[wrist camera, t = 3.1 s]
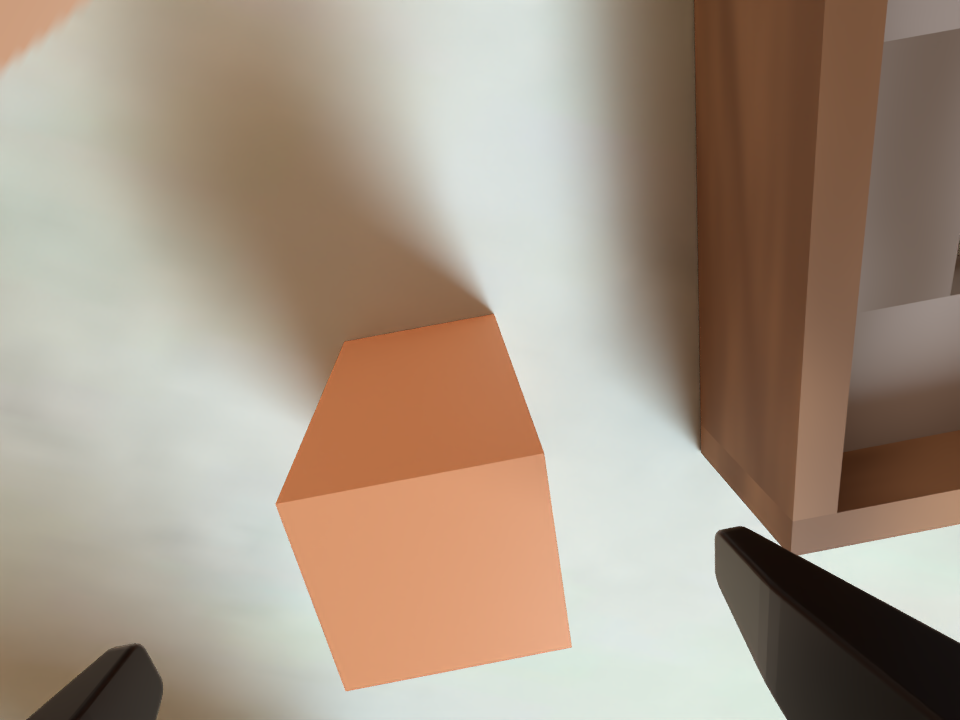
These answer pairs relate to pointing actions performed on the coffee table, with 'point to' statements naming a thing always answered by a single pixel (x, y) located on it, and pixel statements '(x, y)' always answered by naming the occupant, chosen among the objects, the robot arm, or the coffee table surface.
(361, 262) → the coffee table surface
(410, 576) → the peg
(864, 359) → the socket box
